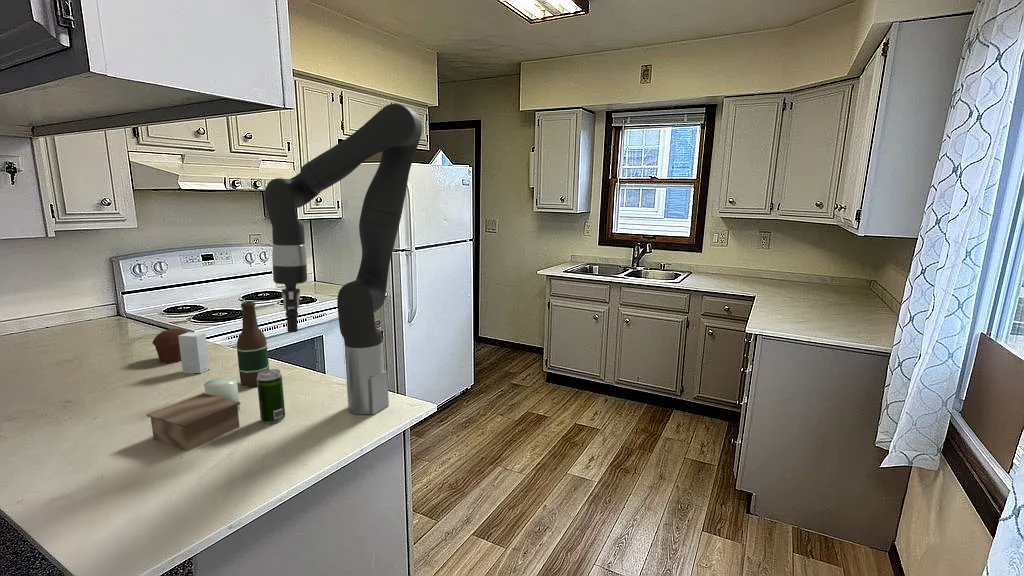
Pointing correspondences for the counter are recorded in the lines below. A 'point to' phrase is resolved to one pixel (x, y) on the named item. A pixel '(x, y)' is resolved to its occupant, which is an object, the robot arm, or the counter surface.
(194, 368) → the skincare box
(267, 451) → the counter surface
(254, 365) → the beer bottle
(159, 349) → the muffin
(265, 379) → the beer can
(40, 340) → the counter surface
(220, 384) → the pale green capsule
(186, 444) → the podium
